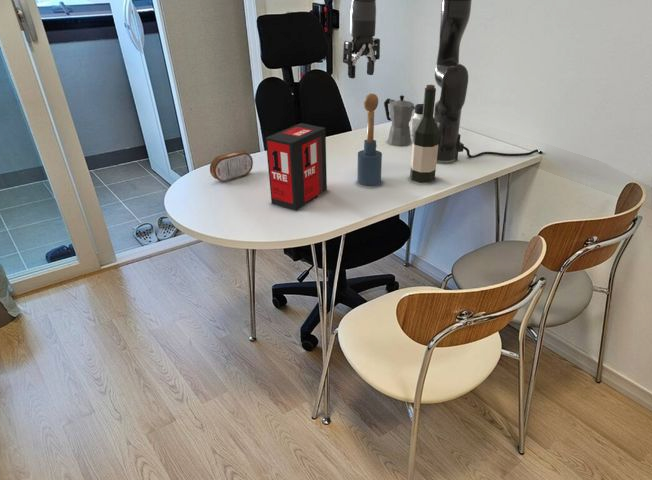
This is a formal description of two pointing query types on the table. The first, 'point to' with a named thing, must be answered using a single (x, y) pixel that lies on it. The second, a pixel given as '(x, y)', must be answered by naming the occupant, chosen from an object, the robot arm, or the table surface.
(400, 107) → the coffeepot
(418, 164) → the wine bottle
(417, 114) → the medicine bottle
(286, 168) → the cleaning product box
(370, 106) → the spoon
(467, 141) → the table surface
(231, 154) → the tin
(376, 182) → the bottle
